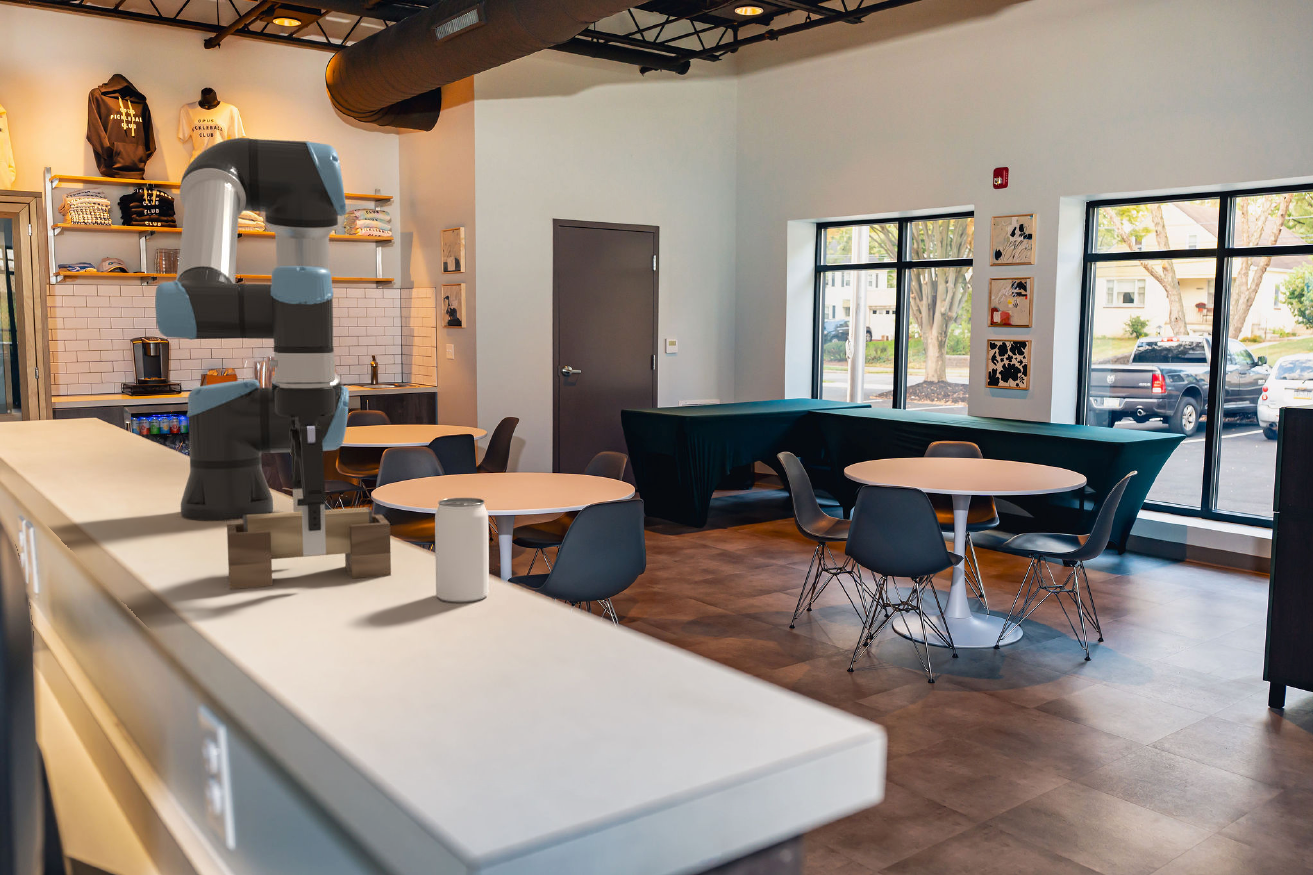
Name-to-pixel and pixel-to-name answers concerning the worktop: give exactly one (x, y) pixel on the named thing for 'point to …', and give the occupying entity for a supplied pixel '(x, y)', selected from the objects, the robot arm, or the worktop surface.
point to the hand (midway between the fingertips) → (309, 544)
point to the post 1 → (248, 557)
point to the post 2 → (369, 549)
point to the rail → (291, 537)
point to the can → (462, 550)
